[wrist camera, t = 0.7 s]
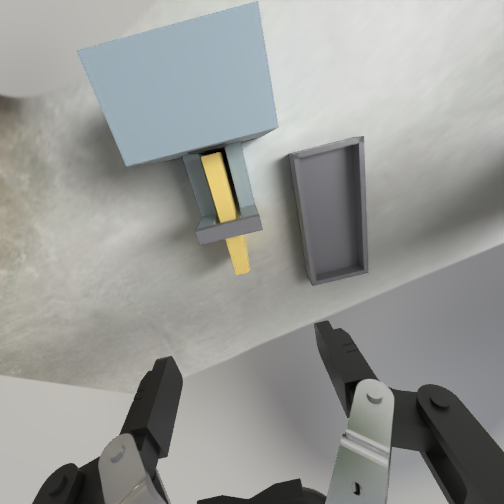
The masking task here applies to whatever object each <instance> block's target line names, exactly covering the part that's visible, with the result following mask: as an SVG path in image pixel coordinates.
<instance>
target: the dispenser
mask: <svg viewBox="0 0 504 504" xmlns="http://www.w3.org/2000/svg"><path fill="white" fill-rule="evenodd" d="M77 53H78V55H79V58H80V60H81V62H82V65H83V67H84V69H85V72H86V74H87V76H88V79H89V81H90V83H91V86H92V88H93V90H94V93H95V95H96V97H97V100H98V102H99V104H100V107H101V109H102V111H103V113H104V116H105V118H106V120H107V123H108V125H109V127H110V130H111V132H112V134H113V137H114V139H115V141H116V144H117V146H118V148H119V151H120V153H121V155H122V158H123V160H124V162H125V165H126V166H133V165H140V164H148V163H155V162H163V161H169V160H173V159H177V158H181V157H182V158H183V161H184V164H185V167H186V170H187V173H188V176H189V179H190V182H191V185H192V189H193V192H194V195H195V198H196V201H197V204H198V207H199V210H200V213H201V216H202V219H201V221H200V223H199V225H198V227H197V229H196V231H195V233H196V236H197V239H198V242H199V245H203V244H207V243H211V242H215V241H219V240H223V239H227V238H231V237H235V236H240V235H244V234H248V233H252V232H256V231H260V230H263V229H262V224H261V220H260V216H259V213H258V211H257V208H256V206H255V203H254V198H253V194H252V190H251V185H250V181H249V176H248V172H247V168H246V163H245V159H244V155H243V150H242V146H241V142H243V141H247V140H251V139H254V138H258V137H262V136H263V135H265V134H267V133H269V132H271V131H272V130H274V129H276V128H278V121H277V115H276V109H275V103H274V97H273V91H272V85H271V79H270V73H269V66H268V60H267V54H266V48H265V42H264V36H263V30H262V24H261V18H260V12H259V6H258V1H256V2H253V3H249V4H245V5H242V6H238V7H234V8H231V9H227V10H223V11H220V12H216V13H212V14H209V15H205V16H201V17H198V18H194V19H190V20H187V21H183V22H179V23H176V24H172V25H168V26H165V27H161V28H157V29H154V30H150V31H146V32H143V33H139V34H135V35H132V36H128V37H124V38H121V39H117V40H113V41H110V42H106V43H103V44H99V45H95V46H92V47H88V48H84V49H80V50H77ZM222 148H225V151H226V155H227V159H228V163H229V167H230V170H231V174H232V178H233V182H234V186H235V190H236V194H237V198H238V202H239V205H240V211H241V218H239V219H235V220H231V221H227V222H223V223H220V219H219V216H218V213H217V209H216V206H215V203H214V199H213V196H212V193H211V189H210V186H209V183H208V179H207V176H206V173H205V169H204V166H203V163H202V159H201V157H202V156H204V154H203V153H206V152H210V151H214V150H218V149H222Z"/></svg>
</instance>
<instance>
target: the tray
mask: <svg viewBox="0 0 504 504" xmlns="http://www.w3.org/2000/svg"><path fill="white" fill-rule="evenodd" d="M289 159H290V166H291V172H292V179H293V185H294V191H295V198H296V204H297V211H298V217H299V224H300V230H301V236H302V243H303V249H304V256H305V262H306V269H307V275H308V279H309V280H310V282H311V284H312V285H313V286H314V285H318V284H322V283H327V282H331V281H335V280H339V279H343V278H348V277H352V276H356V275H360V274H364V273H368V251H367V219H366V188H365V156H364V136H361V137H353V138H349V139H345V140H341V141H338V142H334V143H330V144H326V145H322V146H318V147H314V148H310V149H306V150H302V151H298V152H294V153H290V154H289Z"/></svg>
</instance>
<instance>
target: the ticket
mask: <svg viewBox="0 0 504 504" xmlns="http://www.w3.org/2000/svg"><path fill="white" fill-rule="evenodd" d="M201 159H202V163H203V166H204V169H205V173H206V176H207V179H208V183H209V186H210V189H211V193H212V196H213V199H214V203H215V206H216V209H217V213H218V216H219V219H220V223H223V222H227V221H231V220H235V219H239V215H238V211H237V208H236V204H235V200H234V196H233V192H232V189H231V185H230V181H229V177H228V173H227V170H226V166H225V162H224V158H223V154H222V152H218V153H214V154H210V155H206V156H202V157H201ZM226 243H227V246H228V249H229V253H230V256H231V259H232V263H233V266H234V269H235V273H236V275H240V274H244V273H248V272H250V266H249V259H248V251H247V246H246V242H245V238H244V235H240V236H235V237H231V238H227V239H226Z"/></svg>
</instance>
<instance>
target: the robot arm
mask: <svg viewBox="0 0 504 504" xmlns="http://www.w3.org/2000/svg"><path fill="white" fill-rule="evenodd" d="M314 327H315V333H316V340H317V346H318V350H319V353H320V356H321V358H322V360H323V363H324V365H325V367H326V369H327V372H328V374H329V377H330V379H331V381H332V384H333V386H334V388H335V391H336V393H337V395H338V398H339V400H340V402H341V404H342V407H343V409H344V411H345V414H346V416H347V418H349V421H348V426H347V429H346V432H345V434H343V436H342V438H341V441H340V445H339V449H338V453H337V457H336V461H335V465H334V469H333V474H332V478H331V482H330V486H329V490H328V494H327V496H325V495H324V494H322V493H320V492H318V491H316V490H313V489H310V488H305V487H302V484H301V480H300V479H295V480H290V481H286V482H281V483H276V484H274V485H272V486H270V487H269V488H267V489H265V490H264V491H262V492H260V493H259V494H257V495H255V496H254V497H252V498H250V499H242V498H236V497H230V496H223V495H222V496H217V497H213V498H208V499H203V500H199V501H197V504H387V499H388V486H389V476H390V465H391V453H392V447H397V448H403V449H409V450H415V451H419V452H420V453H421V455H422V457H423V459H424V460H425V462H426V464H427V466H428V468H429V469H430V471H431V473H432V475H433V476H434V478H435V480H436V482H437V483H438V485H439V487H440V489H441V490H442V492H443V494H444V496H445V498H446V499H447V501H448V502H449V504H504V452H503V451H502V449H501V448H500V447H499V446H498V445H497V444H496V442H495V441H494V440H493V439H492V438H491V436H490V435H489V434H488V433H487V432H486V430H485V429H484V428H483V427H482V426H481V424H480V423H479V422H478V421H477V420H476V419H475V417H474V416H473V415H472V414H471V413H470V412H469V410H468V409H467V408H466V407H465V406H464V404H463V403H462V402H461V401H460V400H459V398H458V397H457V396H456V395H454V394H453V393H452V392H450V391H449V390H447V389H446V388H443V387H441V386H438V385H433V384H428V385H423V386H422V387H420V388H419V389H418V392H409V391H400V390H395V389H392V388H390V387H388V386H386V385H385V384H384V383H382V382H380V381H379V380H378V379H377V377H376V376H375V374H374V373H373V371H372V370H371V368H370V366H369V365H368V363H367V362H366V360H365V359H364V357H363V355H362V354H361V353H360V351H359V350H358V348H357V346H356V344H354V341H353V340H352V338H351V337H350V335H349V334H348V333H347V332H345V331H344V330H342V329H341V328H338V329H334V330H333V328H332V326H331V324H330V323H329V321H323V322H319V323H315V324H314ZM182 385H183V380H182V375H181V373H180V371H179V369H178V367H177V365H176V363H175V361H174V359H173V357H172V356H169V357H164V358H160V359H157V360H156V361H155V364H154V367H153V369H152V371H149V372H147V374H146V375H145V376H144V378H143V379H142V380H141V382H140V385H139V387H138V390H137V393H136V395H135V397H134V401H133V403H132V405H131V407H130V410H129V413H128V415H127V417H126V420H125V423H124V425H123V427H122V430H121V432H120V434H119V436H117V437H116V438H114V439H113V440H112V441H111V442H110V443H109V444H108V445H107V446H106V447H105V449H104V450H103V452H102V454H101V456H100V457H98V458H96V459H94V460H93V461H91V462H89V463H88V464H86V465H84V466H82V467H80V468H78V467H77V466H76V465H75V464H73V463H69V464H66V465H63V466H62V467H60V468H59V469H57V470H56V471H55V472H54V473H52V474H51V475H50V476H49V478H48V479H47V480H46V481H45V483H44V484H43V485H42V487H41V488H40V490H39V492H38V494H37V496H36V498H35V499H34V502H33V503H32V504H171V503H170V500H169V498H168V495H167V493H166V490H165V488H164V485H163V483H162V480H161V478H160V475H159V473H158V470H157V469H156V466H157V462H158V459H160V458H164V457H167V456H168V451H169V446H170V441H171V437H172V433H173V428H174V423H175V419H176V413H177V409H178V405H179V399H180V395H181V390H182Z"/></svg>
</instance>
